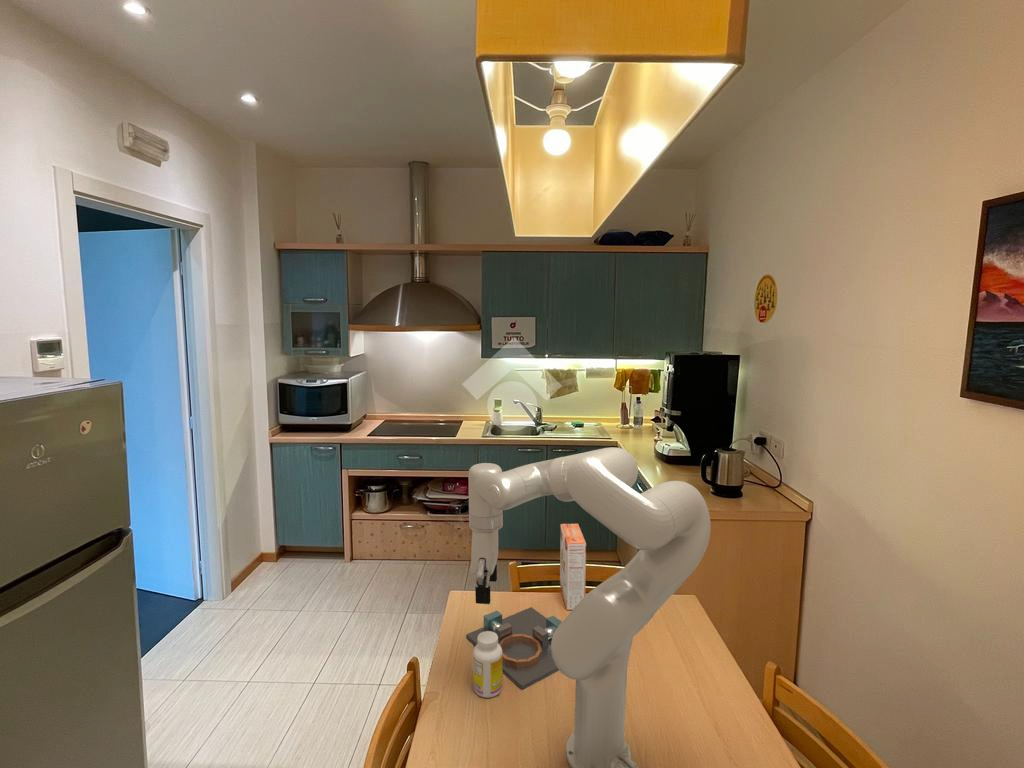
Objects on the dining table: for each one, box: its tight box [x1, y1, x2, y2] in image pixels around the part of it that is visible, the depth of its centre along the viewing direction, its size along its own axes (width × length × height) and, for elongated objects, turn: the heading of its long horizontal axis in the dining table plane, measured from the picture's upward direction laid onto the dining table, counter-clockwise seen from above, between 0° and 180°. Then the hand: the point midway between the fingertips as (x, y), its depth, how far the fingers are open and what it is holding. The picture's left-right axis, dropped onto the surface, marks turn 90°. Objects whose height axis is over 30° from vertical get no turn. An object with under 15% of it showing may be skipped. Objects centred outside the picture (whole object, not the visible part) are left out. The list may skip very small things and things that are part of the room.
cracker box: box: [559, 523, 587, 611], centre depth 158 cm, size 14×6×21 cm, turn 2°
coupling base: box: [465, 606, 563, 691], centre depth 136 cm, size 24×22×5 cm
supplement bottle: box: [472, 631, 504, 699], centre depth 120 cm, size 7×7×13 cm
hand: (486, 591), depth 120 cm, fingers open, 9 cm apart
